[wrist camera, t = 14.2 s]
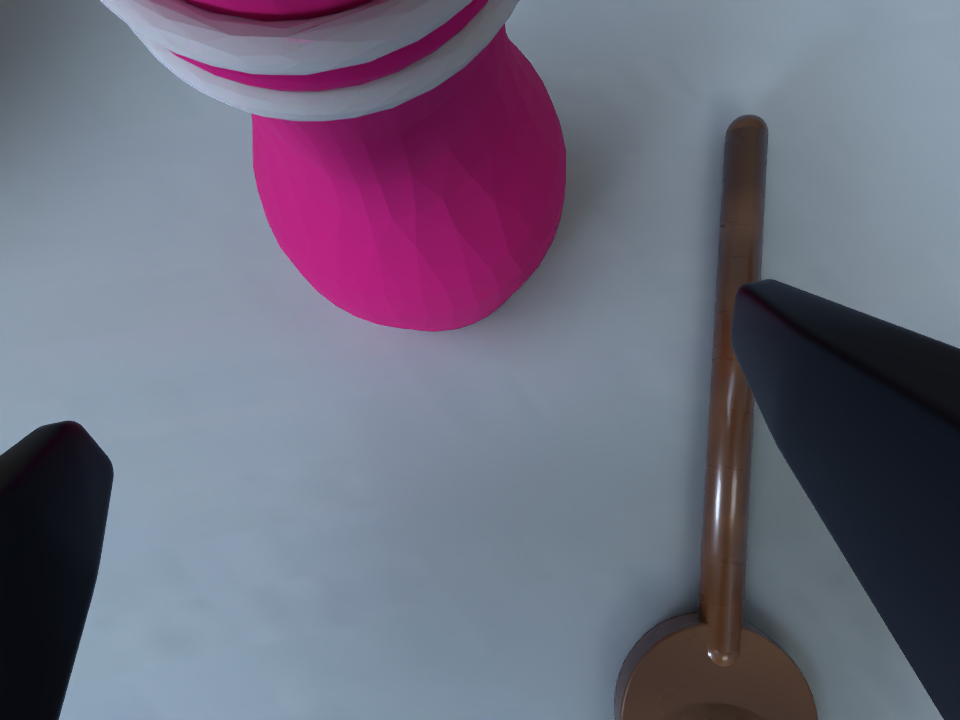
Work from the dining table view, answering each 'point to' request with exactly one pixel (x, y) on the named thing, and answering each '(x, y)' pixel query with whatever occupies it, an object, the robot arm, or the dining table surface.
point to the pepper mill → (383, 142)
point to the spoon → (722, 513)
